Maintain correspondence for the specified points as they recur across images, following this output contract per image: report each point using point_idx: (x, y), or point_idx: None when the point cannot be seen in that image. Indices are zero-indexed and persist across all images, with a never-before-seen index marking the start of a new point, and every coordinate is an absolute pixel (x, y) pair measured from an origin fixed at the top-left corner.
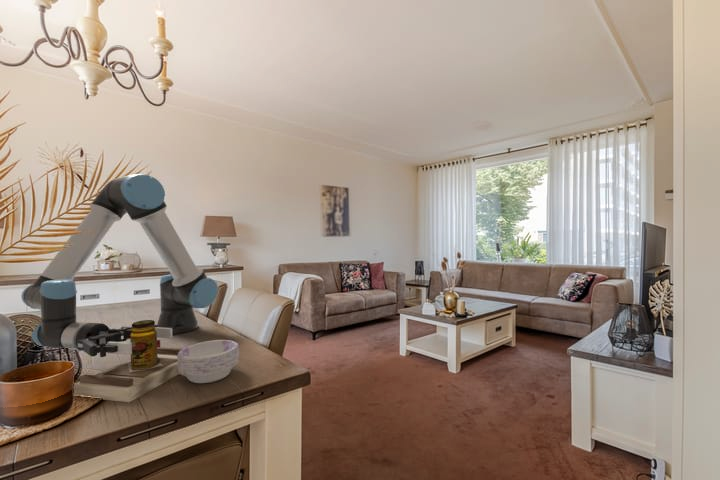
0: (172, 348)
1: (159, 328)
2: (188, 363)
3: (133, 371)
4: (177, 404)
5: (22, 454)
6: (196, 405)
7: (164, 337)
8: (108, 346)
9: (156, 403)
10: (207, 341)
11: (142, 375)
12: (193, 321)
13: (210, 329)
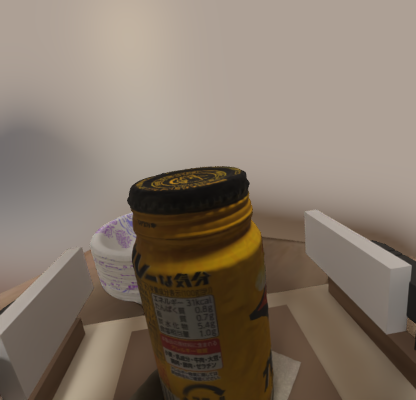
0: None
1: (47, 284)
2: None
3: (282, 367)
4: (284, 252)
5: None
6: (270, 239)
7: (79, 309)
8: (402, 257)
9: (304, 272)
10: (100, 246)
11: (283, 311)
12: None
13: None
